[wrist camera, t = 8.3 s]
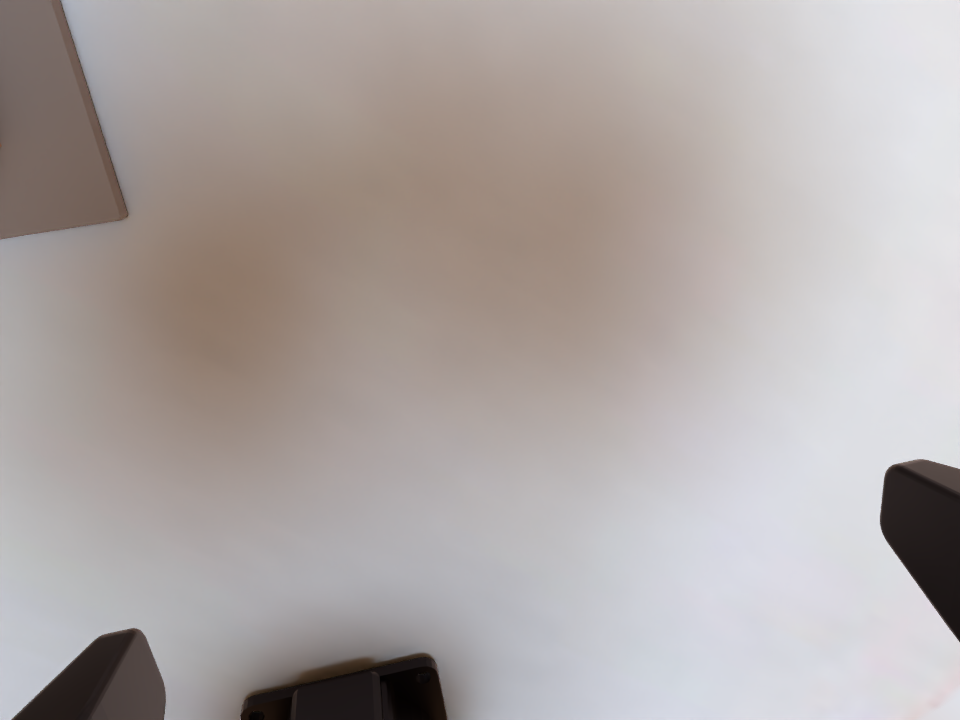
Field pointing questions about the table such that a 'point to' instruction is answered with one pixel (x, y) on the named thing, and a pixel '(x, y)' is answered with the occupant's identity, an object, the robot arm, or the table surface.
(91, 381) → the table surface
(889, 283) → the table surface
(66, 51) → the mat
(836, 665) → the table surface
